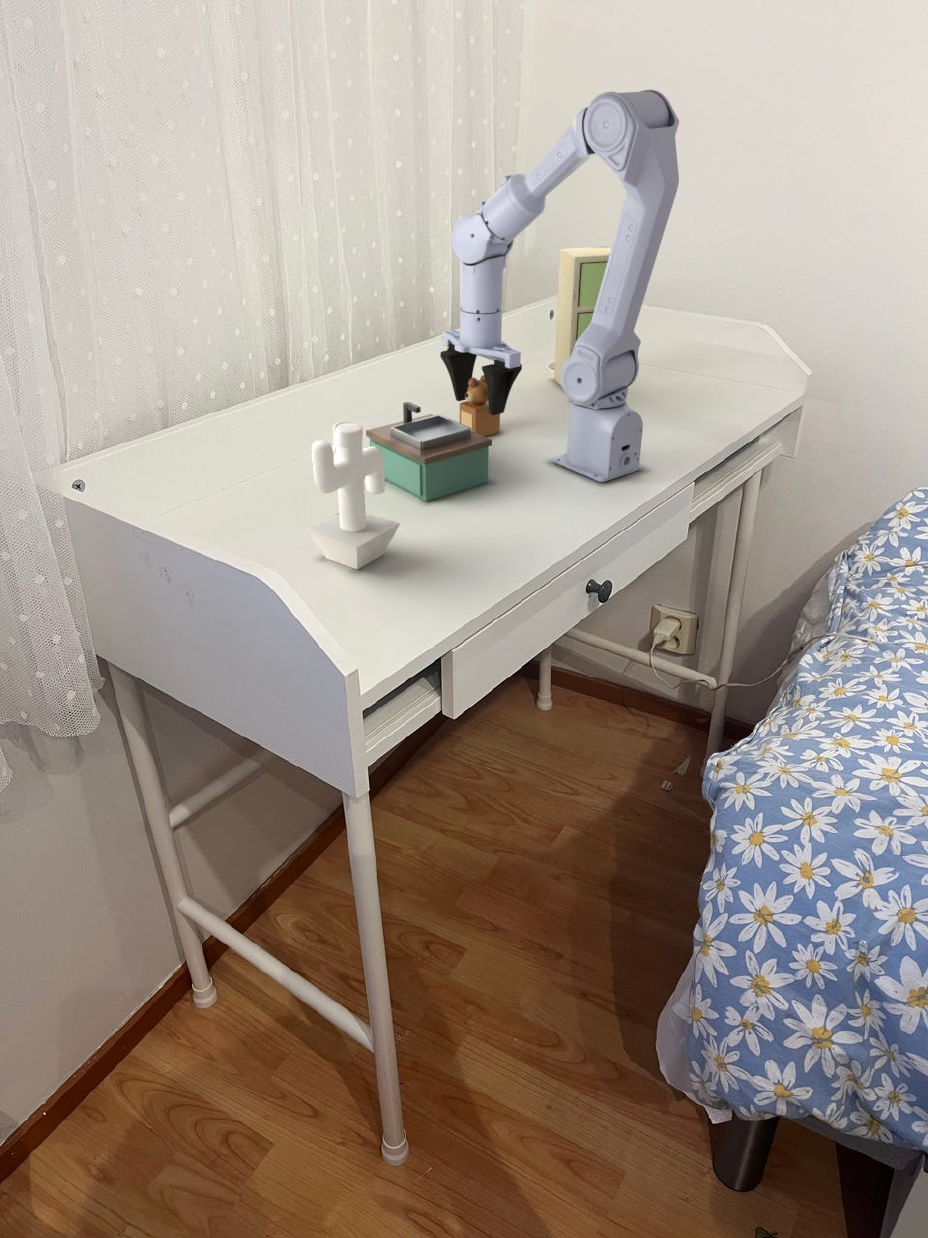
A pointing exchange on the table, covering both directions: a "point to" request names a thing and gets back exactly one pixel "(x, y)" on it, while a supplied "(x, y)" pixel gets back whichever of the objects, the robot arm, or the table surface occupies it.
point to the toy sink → (431, 454)
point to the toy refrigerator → (576, 297)
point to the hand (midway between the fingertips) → (479, 406)
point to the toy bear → (478, 409)
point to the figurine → (350, 498)
